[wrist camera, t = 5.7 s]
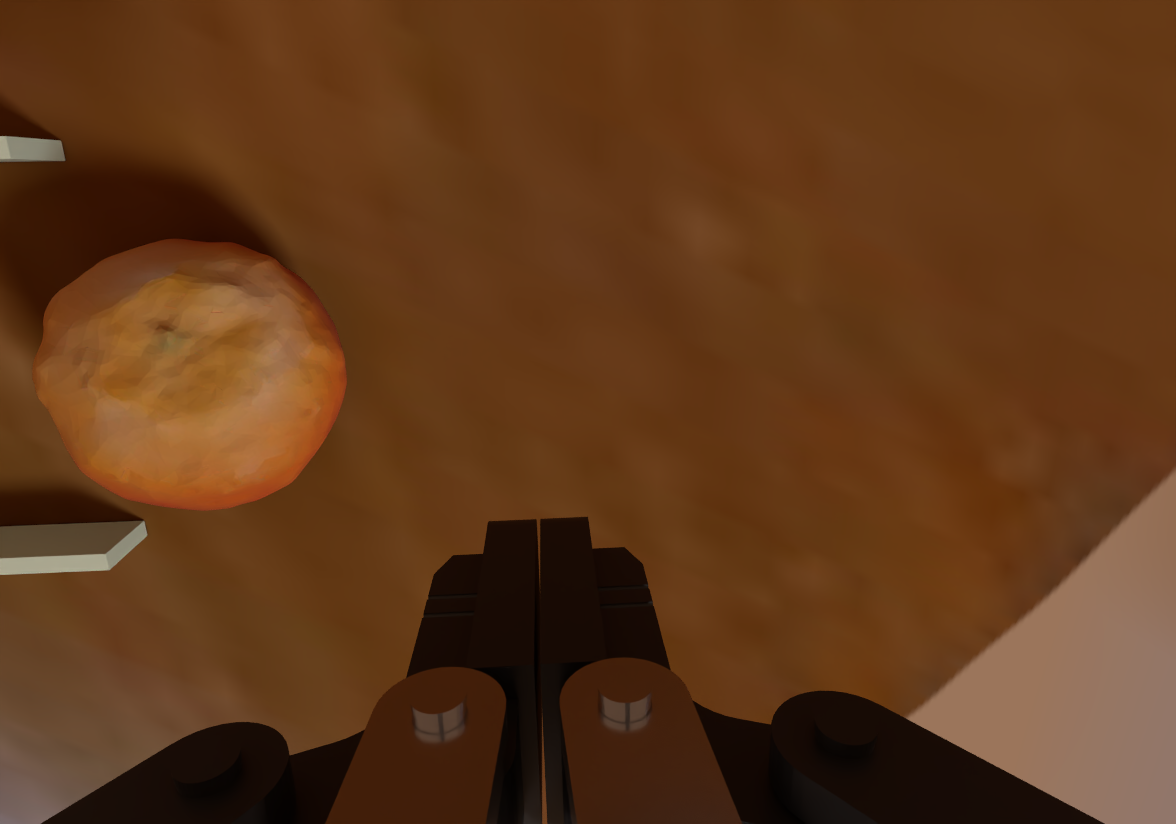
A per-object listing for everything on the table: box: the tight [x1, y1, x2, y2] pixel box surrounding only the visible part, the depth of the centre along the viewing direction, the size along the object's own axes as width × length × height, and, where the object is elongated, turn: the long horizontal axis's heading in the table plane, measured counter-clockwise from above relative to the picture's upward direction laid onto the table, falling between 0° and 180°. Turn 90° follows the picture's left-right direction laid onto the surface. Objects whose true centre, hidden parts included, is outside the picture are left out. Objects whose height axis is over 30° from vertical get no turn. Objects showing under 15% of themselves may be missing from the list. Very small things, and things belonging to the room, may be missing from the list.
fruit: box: [33, 239, 347, 511], centre depth 23 cm, size 8×8×8 cm
